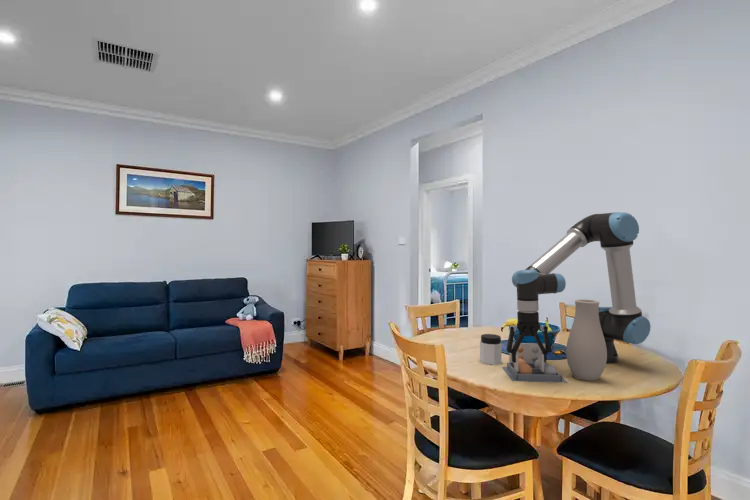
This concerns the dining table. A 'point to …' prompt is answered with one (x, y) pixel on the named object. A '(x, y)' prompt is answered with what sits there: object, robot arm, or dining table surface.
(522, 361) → the terracotta ball
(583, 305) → the vase
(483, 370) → the dining table surface
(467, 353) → the dining table surface
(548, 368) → the grey ball
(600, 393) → the dining table surface
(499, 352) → the jar
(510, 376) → the rack
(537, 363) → the grey ball
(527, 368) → the ball
